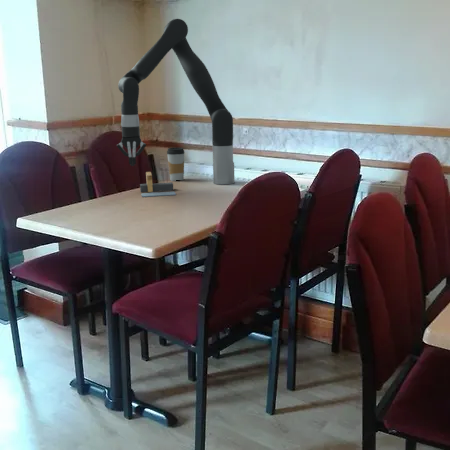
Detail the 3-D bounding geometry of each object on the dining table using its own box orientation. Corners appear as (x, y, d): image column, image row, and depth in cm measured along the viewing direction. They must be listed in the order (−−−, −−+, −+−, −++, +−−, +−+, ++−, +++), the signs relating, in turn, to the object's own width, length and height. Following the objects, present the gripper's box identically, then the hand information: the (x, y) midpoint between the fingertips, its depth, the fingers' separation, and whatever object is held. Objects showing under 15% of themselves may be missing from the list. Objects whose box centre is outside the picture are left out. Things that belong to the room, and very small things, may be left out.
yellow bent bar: (151, 187, 254) (150, 171, 252) (152, 191, 245) (151, 175, 243) (146, 187, 254) (145, 172, 252) (148, 192, 244) (147, 175, 242)
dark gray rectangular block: (172, 189, 251) (172, 182, 251) (173, 191, 248) (173, 183, 247) (140, 191, 249) (140, 184, 248) (140, 193, 245) (140, 185, 245)
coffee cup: (166, 179, 275) (164, 148, 271) (183, 178, 277) (182, 147, 273) (170, 182, 267) (168, 150, 263) (187, 180, 269) (186, 149, 266)
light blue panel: (174, 192, 243) (174, 191, 243) (175, 195, 238) (175, 194, 237) (141, 194, 241) (141, 193, 241) (141, 197, 235) (141, 196, 235)
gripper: (145, 124, 249) (147, 163, 254) (114, 125, 247) (117, 164, 251) (146, 125, 242) (148, 166, 246) (114, 126, 240) (117, 167, 244)
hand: (132, 165), depth 249 cm, fingers closed
